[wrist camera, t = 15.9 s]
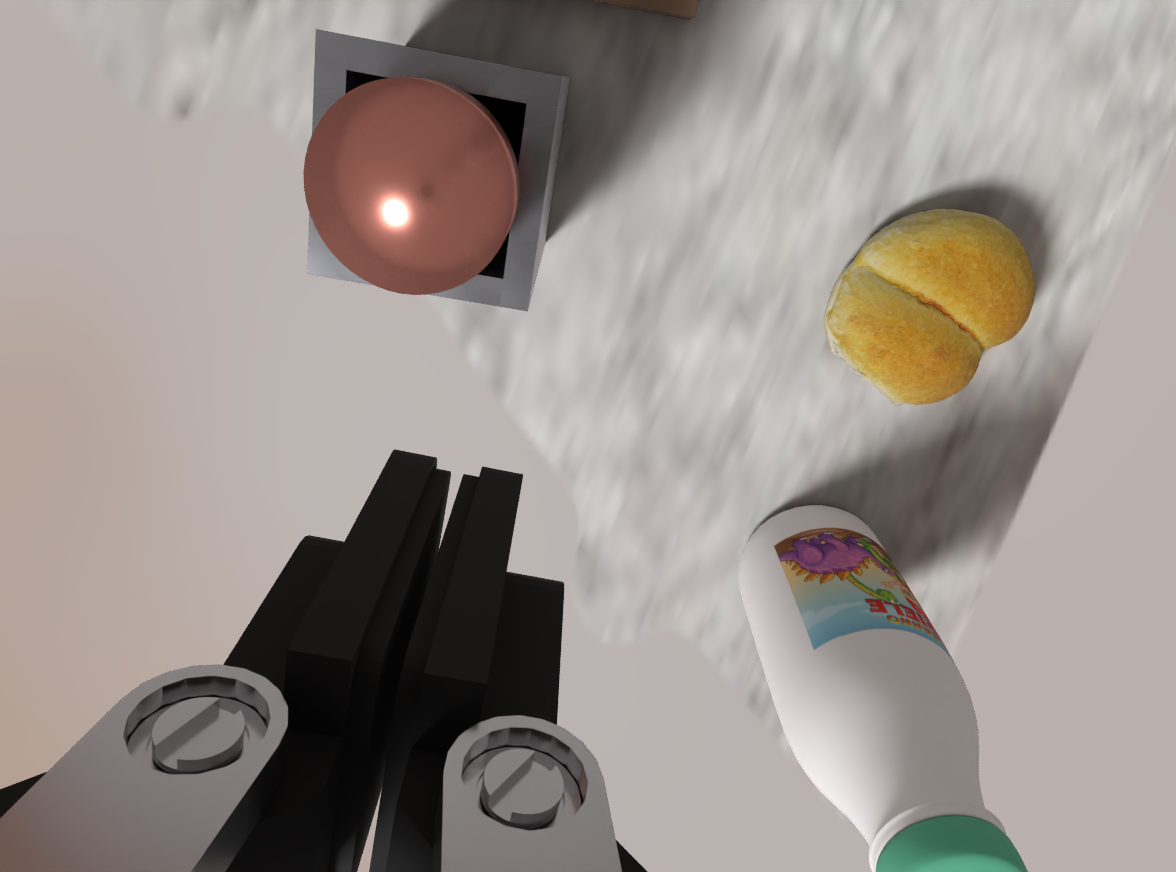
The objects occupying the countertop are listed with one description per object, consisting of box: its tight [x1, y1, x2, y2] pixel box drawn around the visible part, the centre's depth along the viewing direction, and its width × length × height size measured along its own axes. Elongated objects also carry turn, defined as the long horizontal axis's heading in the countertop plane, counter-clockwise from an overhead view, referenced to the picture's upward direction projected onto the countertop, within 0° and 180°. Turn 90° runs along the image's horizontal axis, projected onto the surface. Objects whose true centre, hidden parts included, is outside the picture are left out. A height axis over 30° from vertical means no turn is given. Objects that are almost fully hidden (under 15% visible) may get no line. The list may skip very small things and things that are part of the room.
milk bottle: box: [738, 505, 1028, 872], centre depth 35 cm, size 8×8×20 cm
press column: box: [307, 29, 570, 311], centre depth 30 cm, size 7×7×12 cm
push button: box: [304, 77, 520, 295], centre depth 26 cm, size 6×6×9 cm
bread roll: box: [824, 208, 1035, 406], centre depth 36 cm, size 8×9×4 cm
